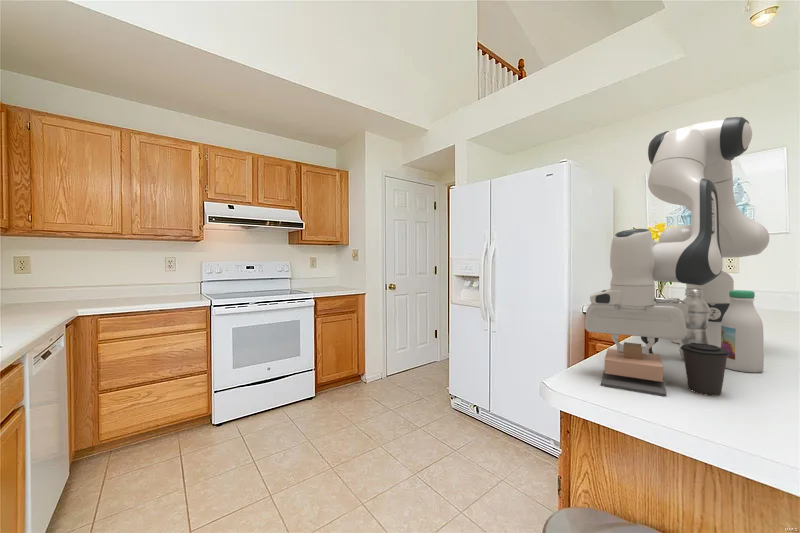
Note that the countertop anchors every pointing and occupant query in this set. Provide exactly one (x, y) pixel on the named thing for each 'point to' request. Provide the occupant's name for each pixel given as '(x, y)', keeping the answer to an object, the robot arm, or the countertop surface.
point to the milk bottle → (743, 333)
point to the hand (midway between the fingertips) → (632, 353)
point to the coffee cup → (705, 367)
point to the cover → (634, 363)
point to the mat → (634, 384)
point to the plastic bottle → (695, 318)
